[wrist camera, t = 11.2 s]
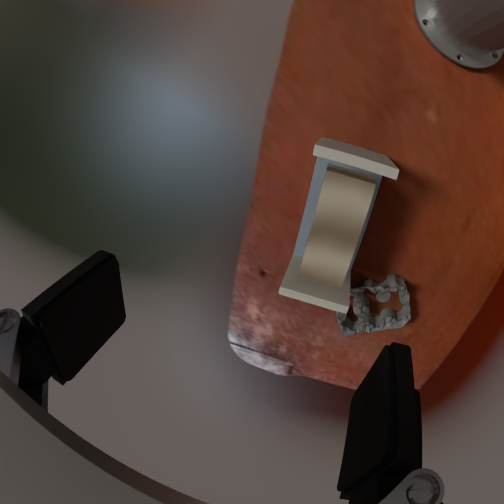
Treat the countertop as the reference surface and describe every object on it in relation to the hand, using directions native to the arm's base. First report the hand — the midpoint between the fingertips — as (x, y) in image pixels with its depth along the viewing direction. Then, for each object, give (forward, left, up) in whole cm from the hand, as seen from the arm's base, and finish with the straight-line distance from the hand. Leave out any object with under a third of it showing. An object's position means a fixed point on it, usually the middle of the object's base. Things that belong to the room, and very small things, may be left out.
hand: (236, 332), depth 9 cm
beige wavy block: (+5, +3, -26) cm, 27 cm away
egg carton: (+16, +12, -30) cm, 36 cm away
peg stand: (+5, +3, -30) cm, 30 cm away
